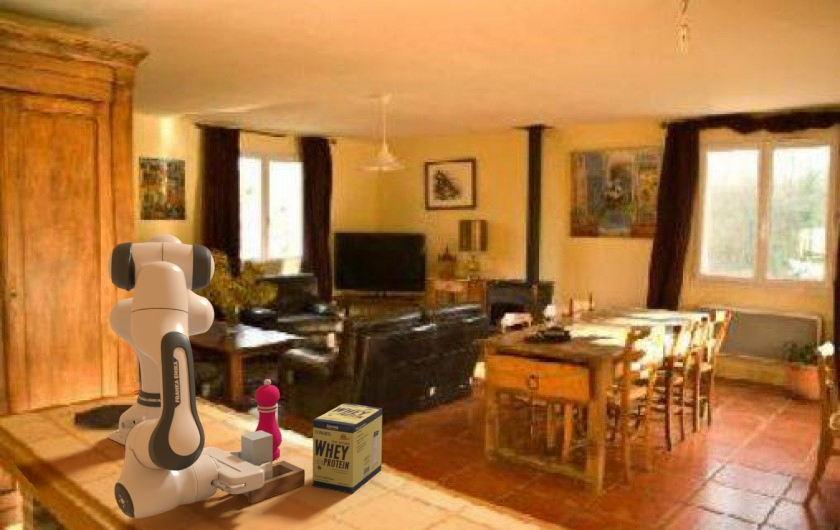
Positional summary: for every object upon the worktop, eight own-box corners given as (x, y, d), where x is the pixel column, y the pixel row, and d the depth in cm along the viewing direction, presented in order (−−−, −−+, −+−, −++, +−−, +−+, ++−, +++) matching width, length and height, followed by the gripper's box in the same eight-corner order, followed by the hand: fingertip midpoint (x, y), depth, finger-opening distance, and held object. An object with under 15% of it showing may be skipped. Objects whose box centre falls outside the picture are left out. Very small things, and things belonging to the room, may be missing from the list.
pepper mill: (274, 463, 163) (274, 383, 161) (247, 460, 164) (247, 381, 163) (286, 453, 170) (286, 376, 168) (260, 450, 171) (260, 374, 170)
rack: (251, 503, 140) (251, 487, 140) (230, 492, 145) (230, 477, 145) (304, 484, 150) (304, 469, 150) (283, 475, 155) (283, 460, 155)
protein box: (311, 486, 149) (311, 419, 148) (344, 463, 164) (344, 401, 163) (352, 494, 145) (353, 425, 144) (382, 470, 160) (383, 407, 159)
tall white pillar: (253, 499, 142) (253, 440, 141) (241, 493, 145) (241, 435, 144) (272, 492, 146) (272, 434, 145) (260, 486, 149) (260, 430, 148)
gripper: (227, 476, 128) (286, 457, 138) (175, 449, 141) (232, 434, 152) (227, 508, 128) (286, 487, 138) (175, 478, 142) (232, 461, 152)
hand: (257, 459), depth 145 cm, fingers open, 8 cm apart
